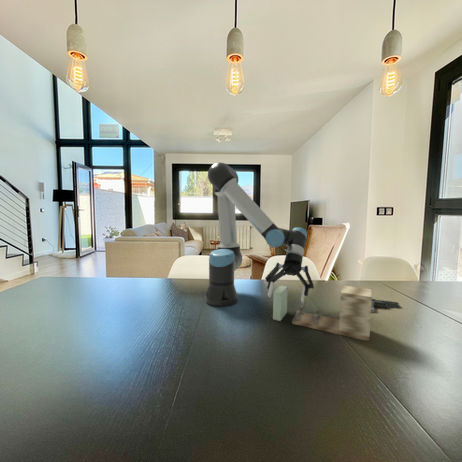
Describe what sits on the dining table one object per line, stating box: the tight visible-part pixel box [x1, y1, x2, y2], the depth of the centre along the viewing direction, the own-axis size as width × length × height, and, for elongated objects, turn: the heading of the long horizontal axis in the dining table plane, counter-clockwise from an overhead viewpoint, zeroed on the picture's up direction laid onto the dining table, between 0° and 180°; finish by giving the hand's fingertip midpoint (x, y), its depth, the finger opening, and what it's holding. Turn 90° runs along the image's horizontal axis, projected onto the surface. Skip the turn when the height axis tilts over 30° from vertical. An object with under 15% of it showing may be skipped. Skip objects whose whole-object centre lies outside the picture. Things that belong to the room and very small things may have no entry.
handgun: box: [371, 298, 400, 313], centre depth 105 cm, size 3×18×12 cm
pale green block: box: [270, 285, 289, 322], centre depth 96 cm, size 4×9×11 cm, turn 151°
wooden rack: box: [291, 285, 373, 342], centre depth 86 cm, size 25×9×15 cm, turn 61°
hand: (284, 299), depth 97 cm, fingers open, 13 cm apart
